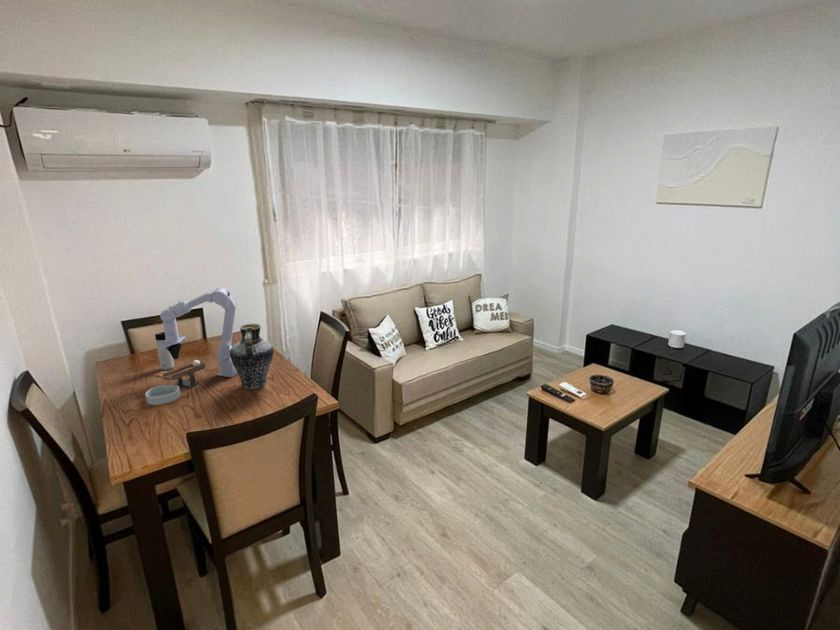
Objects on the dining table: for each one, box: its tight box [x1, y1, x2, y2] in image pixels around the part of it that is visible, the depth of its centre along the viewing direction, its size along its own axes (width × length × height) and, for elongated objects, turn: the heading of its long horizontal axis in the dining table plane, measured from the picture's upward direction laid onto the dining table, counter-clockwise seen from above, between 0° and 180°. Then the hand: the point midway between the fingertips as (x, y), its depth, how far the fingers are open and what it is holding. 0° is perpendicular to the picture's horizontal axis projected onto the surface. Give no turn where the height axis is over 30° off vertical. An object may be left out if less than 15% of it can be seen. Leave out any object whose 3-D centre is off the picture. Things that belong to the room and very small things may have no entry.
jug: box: [230, 323, 274, 390], centre depth 212 cm, size 21×19×30 cm
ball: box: [192, 359, 201, 367], centre depth 221 cm, size 4×4×4 cm
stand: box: [173, 371, 200, 389], centre depth 216 cm, size 10×5×7 cm, turn 74°
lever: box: [153, 359, 206, 381], centre depth 216 cm, size 12×20×4 cm, turn 164°
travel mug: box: [154, 331, 175, 371], centre depth 232 cm, size 6×7×20 cm
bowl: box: [144, 383, 182, 406], centre depth 203 cm, size 13×13×4 cm
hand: (175, 358), depth 221 cm, fingers closed
